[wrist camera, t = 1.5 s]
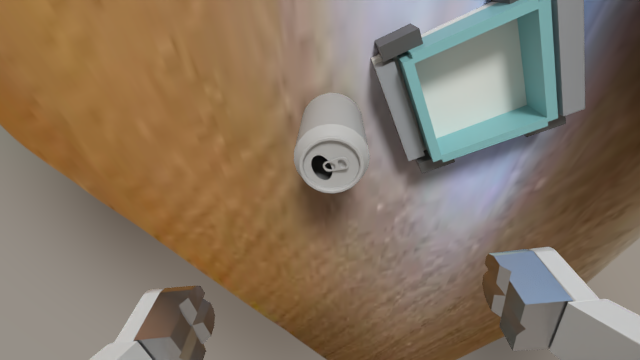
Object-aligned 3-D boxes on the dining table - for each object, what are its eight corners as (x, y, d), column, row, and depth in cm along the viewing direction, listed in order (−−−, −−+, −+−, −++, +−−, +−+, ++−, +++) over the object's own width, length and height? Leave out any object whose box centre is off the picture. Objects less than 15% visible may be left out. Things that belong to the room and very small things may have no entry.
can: (292, 104, 38) (277, 148, 28) (349, 80, 36) (355, 118, 26) (316, 154, 42) (311, 208, 32) (369, 134, 40) (381, 186, 30)
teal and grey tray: (543, -41, 29) (583, -45, 25) (553, 107, 37) (585, 125, 32) (366, 44, 34) (371, 54, 29) (407, 160, 42) (416, 182, 37)
